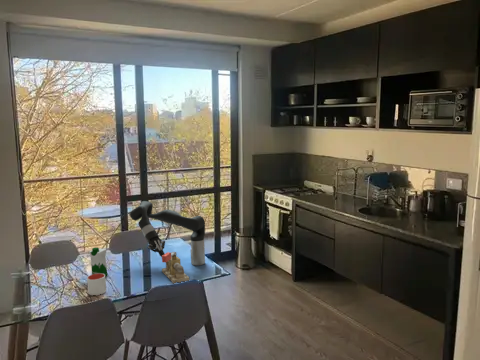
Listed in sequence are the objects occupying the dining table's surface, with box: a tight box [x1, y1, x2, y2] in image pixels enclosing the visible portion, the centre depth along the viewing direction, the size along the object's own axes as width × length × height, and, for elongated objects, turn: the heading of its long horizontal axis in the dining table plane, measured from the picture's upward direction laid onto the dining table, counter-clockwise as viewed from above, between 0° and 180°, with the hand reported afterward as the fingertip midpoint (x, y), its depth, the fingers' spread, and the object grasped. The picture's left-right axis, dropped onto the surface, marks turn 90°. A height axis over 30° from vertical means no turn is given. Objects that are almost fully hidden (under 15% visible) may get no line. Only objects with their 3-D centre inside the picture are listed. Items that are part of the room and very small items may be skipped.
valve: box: [161, 255, 190, 284], centre depth 264 cm, size 24×10×14 cm, turn 28°
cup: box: [86, 273, 107, 296], centre depth 241 cm, size 10×10×10 cm
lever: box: [161, 251, 177, 264], centre depth 257 cm, size 3×15×4 cm, turn 162°
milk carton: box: [88, 247, 109, 278], centre depth 265 cm, size 9×9×20 cm
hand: (163, 256), depth 254 cm, fingers closed
